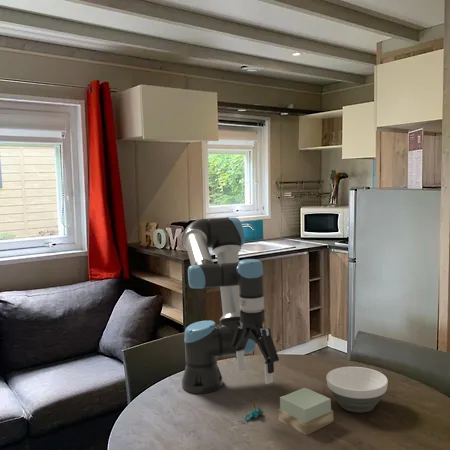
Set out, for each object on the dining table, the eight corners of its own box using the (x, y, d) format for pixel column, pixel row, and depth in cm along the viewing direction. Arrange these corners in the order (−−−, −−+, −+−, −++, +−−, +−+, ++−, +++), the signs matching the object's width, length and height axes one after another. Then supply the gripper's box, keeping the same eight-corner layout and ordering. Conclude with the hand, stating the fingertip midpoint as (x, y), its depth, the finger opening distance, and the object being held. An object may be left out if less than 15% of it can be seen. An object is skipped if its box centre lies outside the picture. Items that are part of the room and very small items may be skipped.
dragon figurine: (262, 425, 148) (267, 404, 155) (239, 415, 149) (245, 395, 155) (256, 437, 151) (261, 416, 158) (234, 428, 152) (240, 408, 159)
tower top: (280, 409, 151) (279, 397, 151) (305, 399, 158) (304, 387, 157) (305, 422, 142) (305, 409, 142) (331, 411, 149) (330, 398, 148)
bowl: (391, 397, 164) (391, 370, 163) (384, 424, 146) (383, 394, 146) (333, 389, 172) (333, 363, 172) (320, 414, 155) (319, 385, 154)
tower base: (278, 421, 152) (277, 409, 152) (305, 409, 159) (304, 397, 159) (306, 436, 142) (305, 423, 142) (333, 423, 150) (333, 410, 149)
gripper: (218, 305, 158) (221, 368, 159) (270, 319, 138) (272, 392, 139) (236, 301, 162) (239, 362, 164) (289, 314, 142) (291, 384, 144)
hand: (254, 376), depth 151 cm, fingers open, 13 cm apart
